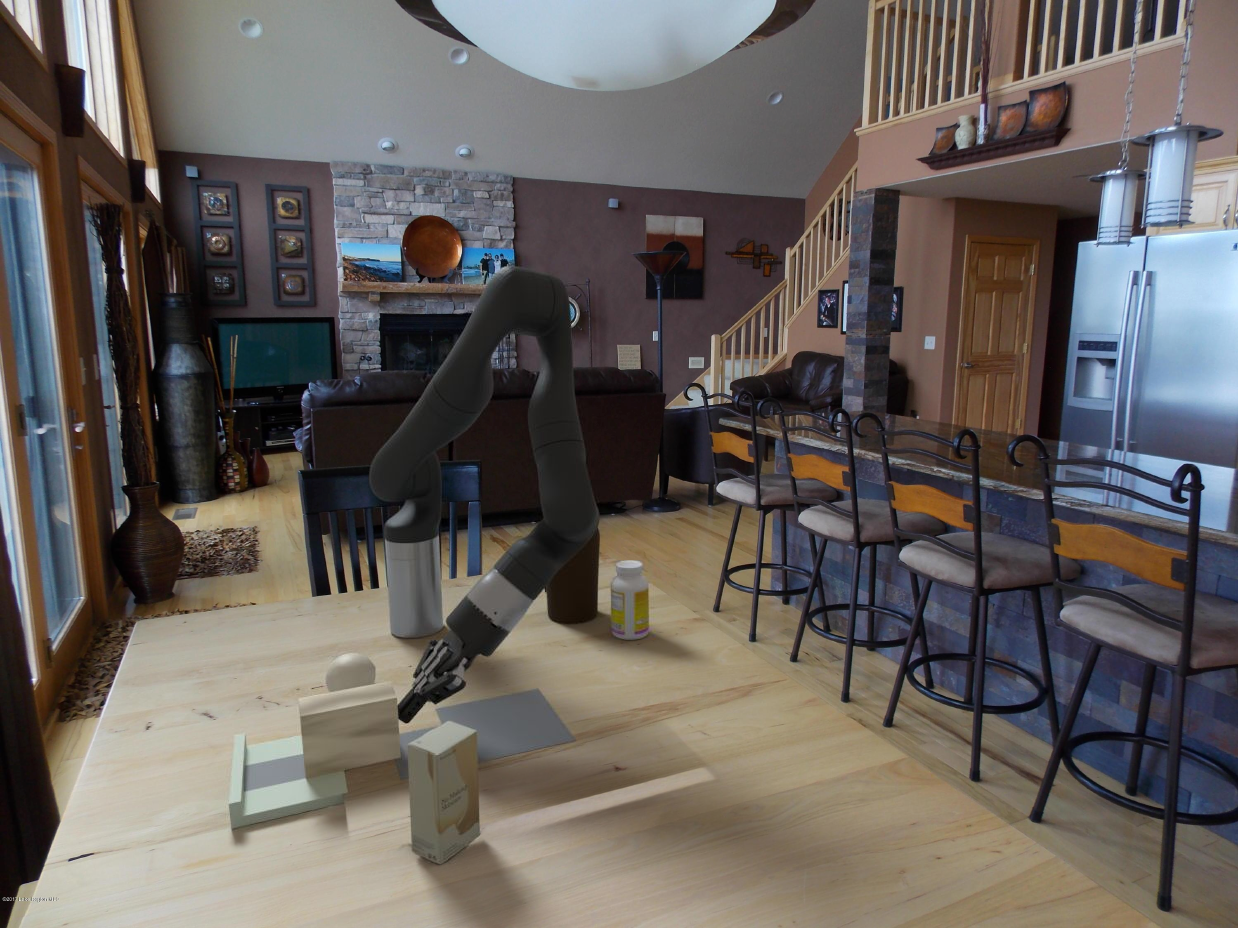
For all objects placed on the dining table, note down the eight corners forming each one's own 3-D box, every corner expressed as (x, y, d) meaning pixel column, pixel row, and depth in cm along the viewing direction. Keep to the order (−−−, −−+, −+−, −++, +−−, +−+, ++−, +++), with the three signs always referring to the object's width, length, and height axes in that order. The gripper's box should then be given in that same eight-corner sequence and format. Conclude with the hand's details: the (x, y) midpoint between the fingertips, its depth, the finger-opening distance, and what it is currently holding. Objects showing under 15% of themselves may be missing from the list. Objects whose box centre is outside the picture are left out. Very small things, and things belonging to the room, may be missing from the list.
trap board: (236, 756, 101) (234, 734, 101) (538, 696, 117) (537, 676, 116) (231, 828, 87) (228, 803, 86) (576, 748, 102) (575, 727, 102)
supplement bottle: (650, 627, 143) (650, 558, 140) (647, 641, 136) (647, 570, 134) (613, 626, 143) (612, 557, 141) (609, 640, 137) (608, 569, 135)
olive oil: (612, 612, 150) (611, 483, 146) (574, 629, 142) (572, 493, 137) (570, 600, 156) (568, 476, 152) (532, 616, 148) (528, 485, 144)
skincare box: (440, 867, 80) (434, 756, 78) (410, 852, 83) (403, 744, 80) (483, 832, 86) (478, 728, 83) (453, 819, 88) (448, 717, 86)
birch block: (303, 758, 98) (298, 698, 97) (394, 738, 103) (390, 680, 101) (305, 778, 94) (300, 716, 92) (400, 757, 98) (397, 697, 97)
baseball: (387, 689, 119) (384, 647, 118) (358, 711, 113) (354, 667, 111) (349, 683, 121) (346, 642, 120) (318, 705, 115) (314, 662, 113)
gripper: (457, 579, 108) (370, 681, 105) (482, 611, 96) (384, 727, 93) (497, 610, 111) (413, 710, 108) (525, 645, 99) (432, 758, 96)
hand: (400, 717), depth 100 cm, fingers closed
